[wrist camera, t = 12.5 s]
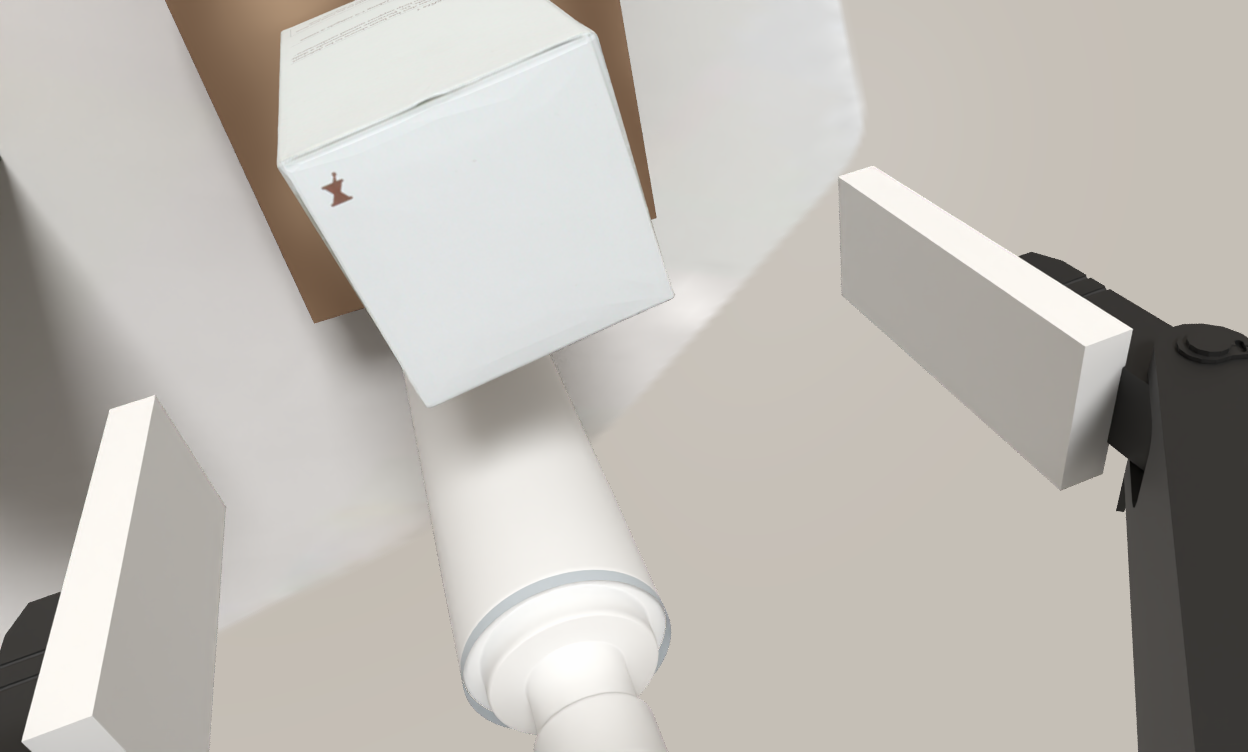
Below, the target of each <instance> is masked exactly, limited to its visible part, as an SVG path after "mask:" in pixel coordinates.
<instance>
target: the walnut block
mask: <svg viewBox="0 0 1248 752" xmlns="http://www.w3.org/2000/svg"><path fill="white" fill-rule="evenodd" d="M165 1H166V3H167V6H168V8H169V10H170V12H171V14H172V16H173V19H174V21H175V23H176V25H177V27H178V29H179V32H180V34H181V36H182V38H183V40H184V42H185V45H186V47H187V49H188V51H189V53H190V55H191V58H192V60H193V62H194V64H195V66H196V68H197V71H198V73H199V75H200V77H201V79H202V81H203V84H204V86H205V88H206V90H207V92H208V94H209V97H210V99H211V101H212V103H213V105H214V107H215V110H216V112H217V114H218V116H219V118H220V120H221V123H222V125H223V127H224V129H225V131H226V133H227V136H228V138H229V140H230V142H231V144H232V146H233V149H234V151H235V153H236V155H237V157H238V159H239V162H240V164H241V166H242V168H243V170H244V172H245V175H246V177H247V179H248V181H249V183H250V185H251V188H252V190H253V192H254V194H255V196H256V198H257V201H258V203H259V205H260V207H261V209H262V211H263V214H264V216H265V218H266V220H267V222H268V224H269V227H270V229H271V231H272V233H273V235H274V237H275V240H276V242H277V244H278V246H279V248H280V250H281V253H282V255H283V257H284V259H285V261H286V263H287V266H288V268H289V270H290V272H291V274H292V276H293V279H294V281H295V283H296V285H297V287H298V289H299V292H300V294H301V296H302V298H303V300H304V302H305V305H306V307H307V309H308V311H309V313H310V315H311V318H312V320H313V322H314V323H317V322H321V321H324V320H327V319H330V318H334V317H337V316H340V315H343V314H346V313H350V312H353V311H356V310H359V309H363V308H365V307H364V305H363V304H362V302H361V300H360V299H359V297H358V296H357V294H356V292H355V291H354V289H353V288H352V286H351V284H350V283H349V281H348V280H347V278H346V276H345V275H344V273H343V272H342V270H341V268H340V267H339V265H338V264H337V262H336V260H335V259H334V257H333V256H332V254H331V252H330V251H329V249H328V248H327V246H326V244H325V243H324V241H323V240H322V238H321V236H320V235H319V233H318V232H317V230H316V228H315V227H314V225H313V224H312V222H311V220H310V219H309V217H308V216H307V214H306V212H305V211H304V209H303V208H302V206H301V204H300V203H299V201H298V200H297V198H296V196H295V195H294V193H293V192H292V190H291V188H290V187H289V185H288V184H287V182H286V180H285V179H284V177H283V176H282V174H281V172H280V171H279V169H278V168H277V149H278V116H279V75H280V42H281V32H282V31H283V30H286V29H288V28H291V27H293V26H296V25H298V24H300V23H303V22H305V21H307V20H310V19H312V18H314V17H317V16H319V15H322V14H324V13H326V12H329V11H331V10H333V9H336V8H338V7H341V6H343V5H345V4H348V3H350V2H353V1H355V0H165ZM550 1H551V2H552V3H554V4H555V5H556V6H558V7H559V8H560V9H561V10H563V11H564V12H565V13H567V14H568V15H570V16H571V17H572V18H574V19H575V20H576V21H578V22H579V23H581V24H583V25H584V26H586V27H588V28H589V29H591V30H592V31H594V32H595V33H596V34H597V36H598V39H599V42H600V46H601V49H602V53H603V56H604V60H605V63H606V67H607V70H608V73H609V77H610V80H611V84H612V87H613V90H614V94H615V97H616V101H617V104H618V107H619V111H620V114H621V118H622V121H623V124H624V128H625V131H626V135H627V138H628V142H629V145H630V149H631V152H632V156H633V159H634V162H635V166H636V169H637V173H638V176H639V180H640V183H641V187H642V190H643V194H644V197H645V201H646V204H647V207H648V211H649V214H650V218H651V219H655V218H656V212H655V206H654V200H653V194H652V188H651V182H650V176H649V170H648V165H647V159H646V153H645V147H644V141H643V135H642V129H641V123H640V117H639V112H638V106H637V100H636V94H635V88H634V82H633V76H632V70H631V64H630V59H629V53H628V47H627V41H626V35H625V29H624V23H623V17H622V11H621V6H620V0H550Z"/></svg>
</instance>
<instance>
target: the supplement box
mask: <svg viewBox="0 0 1248 752" xmlns="http://www.w3.org/2000/svg"><path fill="white" fill-rule="evenodd" d="M277 168H278V169H279V171H280V172H281V174H282V176H283V177H284V179H285V180H286V182H287V184H288V185H289V187H290V188H291V190H292V192H293V193H294V195H295V196H296V198H297V200H298V201H299V203H300V204H301V206H302V208H303V209H304V211H305V212H306V214H307V216H308V217H309V219H310V220H311V222H312V224H313V225H314V227H315V228H316V230H317V232H318V233H319V235H320V236H321V238H322V240H323V241H324V243H325V244H326V246H327V248H328V249H329V251H330V252H331V254H332V256H333V257H334V259H335V260H336V262H337V264H338V265H339V267H340V268H341V270H342V272H343V273H344V275H345V276H346V278H347V280H348V281H349V283H350V284H351V286H352V288H353V289H354V291H355V292H356V294H357V296H358V297H359V299H360V300H361V302H362V304H363V305H364V307H365V308H366V310H367V312H368V313H369V315H370V316H371V318H372V320H373V321H374V323H375V325H376V326H377V328H378V329H379V331H380V333H381V334H382V336H383V337H384V339H385V341H386V342H387V344H388V345H389V347H390V349H391V350H392V352H393V353H394V355H395V357H396V359H397V360H398V362H399V364H400V365H401V367H402V369H403V370H404V372H405V373H406V375H407V377H408V379H409V380H410V382H411V384H412V385H413V387H414V389H415V390H416V392H417V394H418V395H419V397H420V399H421V400H422V402H423V403H424V405H425V406H426V407H427V408H432V407H435V406H437V405H439V404H442V403H444V402H446V401H448V400H450V399H452V398H454V397H456V396H459V395H461V394H463V393H465V392H467V391H469V390H472V389H474V388H476V387H478V386H480V385H483V384H485V383H487V382H489V381H491V380H493V379H496V378H498V377H500V376H502V375H504V374H507V373H509V372H511V371H513V370H515V369H518V368H520V367H522V366H524V365H526V364H529V363H531V362H533V361H535V360H538V359H540V358H542V357H544V356H546V355H549V354H551V353H553V352H555V351H557V350H560V349H562V348H564V347H566V346H568V345H571V344H573V343H575V342H577V341H579V340H582V339H584V338H586V337H588V336H590V335H593V334H595V333H597V332H599V331H601V330H604V329H606V328H608V327H610V326H613V325H615V324H617V323H619V322H622V321H624V320H626V319H628V318H631V317H633V316H635V315H637V314H640V313H642V312H644V311H646V310H648V309H650V308H653V307H655V306H657V305H659V304H662V303H664V302H666V301H669V300H671V299H672V298H674V296H675V294H674V292H673V289H672V286H671V283H670V280H669V277H668V274H667V271H666V268H665V265H664V261H663V258H662V254H661V251H660V248H659V245H658V241H657V238H656V235H655V231H654V228H653V225H652V221H651V218H650V214H649V211H648V207H647V204H646V201H645V197H644V194H643V190H642V187H641V183H640V180H639V176H638V173H637V169H636V166H635V162H634V159H633V156H632V152H631V149H630V145H629V142H628V138H627V135H626V131H625V128H624V124H623V121H622V118H621V114H620V111H619V107H618V104H617V101H616V97H615V94H614V90H613V87H612V84H611V80H610V77H609V73H608V70H607V67H606V63H605V60H604V56H603V53H602V49H601V46H600V42H599V39H598V36H597V34H596V33H595V32H594V31H592V30H591V29H589V28H588V27H586V26H584V25H583V24H581V23H579V22H578V21H576V20H575V19H574V18H572V17H571V16H570V15H568V14H567V13H565V12H564V11H563V10H561V9H560V8H559V7H558V6H556V5H555V4H554V3H552V2H551V1H550V0H355V1H353V2H350V3H348V4H345V5H343V6H341V7H338V8H336V9H333V10H331V11H329V12H326V13H324V14H322V15H319V16H317V17H314V18H312V19H310V20H307V21H305V22H303V23H300V24H298V25H296V26H293V27H291V28H288V29H286V30H283V31H282V32H281V42H280V75H279V116H278V149H277Z"/></svg>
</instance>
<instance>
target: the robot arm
mask: <svg viewBox="0 0 1248 752" xmlns="http://www.w3.org/2000/svg"><path fill="white" fill-rule="evenodd" d="M838 186H839V219H840V251H841V252H840V253H841V285H842V296H843V297H844V298H846V299H847V300H848V301H849V302H850V303H851V304H852V305H853V306H855V308H857V309H858V310H859V311H860V312H861V313H862V314H863V315H864V316H866V317H867V318H868V319H869V320H870V321H871V322H872V323H873V324H874V325H876V326H877V327H878V328H879V329H880V330H881V331H882V332H884V333H885V334H886V335H887V336H888V337H889V338H890V339H891V340H893V341H894V342H895V343H896V344H897V345H898V346H899V347H900V348H901V349H903V350H904V351H905V352H906V353H907V354H908V355H909V356H910V357H912V358H913V359H914V360H915V361H916V362H917V363H918V364H919V365H920V366H922V367H923V368H924V369H925V370H926V371H927V372H928V373H929V374H931V375H932V376H933V377H934V378H935V379H936V380H937V381H938V382H939V383H941V384H942V385H943V386H944V387H945V388H946V389H947V390H949V391H950V392H951V393H952V394H953V395H954V396H955V397H956V398H957V399H958V400H960V401H961V402H962V403H963V404H964V405H965V406H966V407H968V408H969V409H970V410H971V411H972V412H973V413H974V414H975V415H976V416H978V417H979V418H980V419H981V420H982V421H983V422H984V423H986V425H988V426H989V427H990V428H991V429H992V430H993V431H994V432H996V433H997V434H998V435H999V436H1000V437H1001V438H1002V439H1003V440H1004V441H1006V442H1007V443H1008V444H1009V445H1010V446H1011V447H1013V449H1014V450H1016V451H1017V452H1018V453H1019V454H1020V455H1021V456H1022V457H1023V458H1025V459H1026V460H1027V461H1028V462H1029V463H1030V464H1032V465H1033V466H1034V467H1035V468H1036V469H1037V470H1038V471H1039V472H1040V473H1041V474H1042V475H1044V476H1045V477H1046V478H1047V479H1048V480H1049V481H1050V482H1052V483H1053V484H1054V485H1055V486H1056V487H1057V488H1058V489H1059V490H1060V491H1061V490H1063V489H1066V488H1068V487H1071V486H1073V485H1076V484H1078V483H1081V482H1083V481H1086V480H1088V479H1091V478H1093V477H1096V476H1098V475H1101V474H1102V473H1103V469H1104V464H1105V460H1106V455H1107V450H1108V446H1109V444H1110V445H1111V446H1113V447H1114V448H1115V449H1116V450H1118V451H1119V452H1120V453H1121V454H1123V455H1124V456H1125V457H1127V458H1128V461H1127V465H1126V470H1125V474H1124V478H1123V483H1122V487H1121V491H1120V496H1119V500H1118V505H1117V509H1116V511H1121V512H1124V510H1125V508H1126V521H1127V541H1128V561H1129V581H1130V600H1131V618H1132V638H1133V658H1134V676H1135V697H1136V715H1137V735H1138V752H1248V338H1247V337H1246V336H1244V335H1243V334H1241V333H1239V332H1236V331H1233V330H1230V329H1228V328H1225V327H1221V326H1214V325H1208V324H1182V325H1179V326H1175V327H1172V326H1171V325H1169V324H1167V323H1165V322H1164V321H1162V320H1160V319H1159V318H1157V317H1156V316H1154V315H1152V314H1150V313H1149V312H1147V311H1146V310H1144V309H1142V308H1141V307H1139V306H1137V305H1135V304H1134V303H1132V302H1131V301H1129V300H1127V299H1125V298H1124V297H1122V296H1120V295H1119V294H1117V293H1115V292H1114V291H1112V290H1110V289H1109V290H1106V288H1105V286H1104V285H1102V284H1100V283H1099V282H1097V281H1095V280H1094V279H1092V278H1089V279H1088V278H1087V277H1086V275H1085V274H1084V273H1082V272H1080V271H1079V270H1077V269H1075V268H1073V267H1072V266H1070V265H1068V264H1067V263H1065V262H1064V261H1061V260H1058V259H1055V258H1051V257H1048V256H1044V255H1041V254H1037V253H1033V252H1030V253H1027V254H1024V255H1021V256H1016V255H1014V254H1013V253H1011V252H1010V251H1008V250H1006V249H1005V248H1003V247H1002V246H1000V245H999V244H997V243H995V242H994V241H992V240H990V239H989V238H987V237H986V236H984V235H983V234H981V233H980V232H978V231H976V230H975V229H973V228H971V227H970V226H968V225H967V224H965V223H963V222H962V221H960V220H959V219H957V218H956V217H954V216H953V215H951V214H949V213H948V212H946V211H945V210H943V209H941V208H940V207H938V206H937V205H935V204H933V203H931V202H930V201H928V200H927V199H925V198H924V197H922V196H921V195H919V194H918V193H916V192H914V191H913V190H911V189H909V188H908V187H906V186H905V185H903V184H902V183H900V182H898V181H897V180H895V179H894V178H892V177H891V176H889V175H887V174H886V173H884V172H882V171H881V170H879V169H878V168H876V167H875V166H870V167H867V168H864V169H861V170H858V171H854V172H852V173H848V174H845V175H842V176H839V177H838ZM225 511H226V506H225V505H224V503H223V501H222V500H221V498H220V497H219V495H218V494H217V492H216V490H215V489H214V487H213V486H212V484H211V482H210V481H209V479H208V478H207V476H206V475H205V473H204V471H203V470H202V468H201V467H200V465H199V463H198V462H197V460H196V459H195V457H194V455H193V454H192V452H191V451H190V449H189V448H188V446H187V444H186V443H185V441H184V440H183V438H182V436H181V435H180V433H179V432H178V430H177V429H176V427H175V425H174V424H173V422H172V421H171V419H170V417H169V416H168V414H167V413H166V411H165V409H164V408H163V406H162V405H161V403H160V402H159V400H158V398H157V397H156V395H153V396H150V397H147V398H144V399H141V400H138V401H135V402H132V403H128V404H125V405H122V406H119V407H116V408H113V409H110V410H109V414H108V418H107V422H106V425H105V429H104V433H103V437H102V440H101V444H100V448H99V452H98V455H97V459H96V463H95V467H94V470H93V474H92V478H91V482H90V486H89V489H88V493H87V497H86V501H85V504H84V508H83V512H82V516H81V519H80V523H79V527H78V531H77V534H76V538H75V542H74V546H73V549H72V553H71V557H70V561H69V564H68V568H67V572H66V576H65V580H64V583H63V587H62V591H61V592H59V593H56V594H53V595H50V596H47V597H44V598H41V599H39V600H36V601H33V602H30V603H28V605H27V606H26V607H25V609H24V610H23V611H22V613H21V614H20V616H19V617H18V618H17V620H16V621H15V622H14V624H13V625H12V627H11V628H10V629H9V631H8V632H7V633H6V635H5V637H4V640H3V643H2V647H1V650H0V752H209V746H210V731H211V717H212V701H213V687H214V673H215V658H216V643H217V629H218V614H219V599H220V585H221V570H222V555H223V541H224V526H225Z"/></svg>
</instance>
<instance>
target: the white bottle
mask: <svg viewBox="0 0 1248 752" xmlns="http://www.w3.org/2000/svg"><path fill="white" fill-rule="evenodd" d="M403 374H404V380H405V385H406V390H407V396H408V401H409V406H410V412H411V417H412V422H413V428H414V433H415V438H416V443H417V449H418V454H419V459H420V465H421V470H422V475H423V481H424V486H425V491H426V497H427V502H428V507H429V513H430V518H431V523H432V529H433V534H434V539H435V545H436V550H437V555H438V560H439V566H440V571H441V576H442V581H443V586H444V591H445V596H446V601H447V607H448V611H449V617H450V622H451V627H452V632H453V637H454V642H455V647H456V653H457V657H458V662H459V668H460V673H461V678H462V681H463V682H464V684H465V686H464V684H463V688H464V692H465V695H466V697H467V700H468V701H469V703H470V705H471V706H472V707H473V708H474V709H475V711H476V712H477V713H479V714H480V715H481V716H483V717H484V718H485V719H487V720H489V721H491V722H493V723H495V724H498V725H500V726H503V727H507V728H511V729H514V730H517V731H520V732H523V733H528V734H534V735H537V738H536V740H535V744H534V752H668V750H667V748H666V745H665V742H664V740H663V737H662V735H661V732H660V730H659V727H658V725H657V722H656V719H655V717H654V714H653V712H652V710H651V709H650V707H649V705H648V704H647V703H646V702H645V701H643V700H642V699H640V698H639V697H638V696H639V695H640V694H641V693H642V692H643V691H644V689H645V688H646V687H647V685H648V684H649V682H650V680H651V679H652V677H653V675H654V674H655V673H656V671H657V670H658V668H659V667H660V665H661V664H662V662H663V660H664V658H665V656H666V654H667V650H668V648H669V644H670V639H671V625H670V620H669V617H668V614H667V612H666V610H665V612H664V606H663V603H662V601H661V599H660V596H659V594H658V592H657V590H656V587H655V585H654V583H653V581H652V578H651V576H650V574H649V572H648V570H647V567H646V565H645V563H644V561H643V559H642V556H641V554H640V552H639V550H638V547H637V545H636V543H635V540H634V539H633V536H632V534H631V532H630V529H629V527H628V525H627V523H626V520H625V518H624V516H623V514H622V511H621V509H620V507H619V505H618V502H617V500H616V498H615V496H614V494H613V491H612V490H611V487H610V485H609V483H608V481H607V479H606V476H605V474H604V472H603V470H602V467H601V465H600V463H599V461H598V459H597V457H596V454H595V452H594V450H593V448H592V445H591V443H590V441H589V439H588V437H587V434H586V432H585V430H584V428H583V426H582V423H581V421H580V419H579V417H578V415H577V413H576V410H575V408H574V406H573V404H572V402H571V399H570V397H569V395H568V393H567V391H566V388H565V386H564V384H563V382H562V380H561V377H560V375H559V373H558V371H557V369H556V366H555V364H554V362H553V360H552V358H551V356H550V354H549V355H546V356H544V357H542V358H540V359H538V360H535V361H533V362H531V363H529V364H526V365H524V366H522V367H520V368H518V369H515V370H513V371H511V372H509V373H507V374H504V375H502V376H500V377H498V378H496V379H493V380H491V381H489V382H487V383H485V384H483V385H480V386H478V387H476V388H474V389H472V390H469V391H467V392H465V393H463V394H461V395H459V396H456V397H454V398H452V399H450V400H448V401H446V402H444V403H442V404H439V405H437V406H435V407H432V408H427V407H426V406H425V405H424V403H423V402H422V400H421V399H420V397H419V395H418V394H417V392H416V390H415V389H414V387H413V385H412V384H411V382H410V380H409V379H408V377H407V375H406V373H405V372H404V370H403ZM665 614H666V630H665ZM664 631H665V636H664V639H663V635H664ZM662 639H663V642H662V644H661V641H662ZM660 644H661V646H660ZM659 646H660V649H659ZM658 649H659V651H658ZM463 682H462V683H463ZM465 687H466V688H467V690H468V691H469V693H470V694H471V695H472V696H473V697H474V699H475V700H477V701H478V702H479V703H480V704H481V705H483V706H484V707H486V708H488V709H490V710H492V711H493V712H491V711H489V710H487V709H486V708H484V707H483V706H481V705H480V704H478V703H477V702H476V701H475V700H474V699H473V698H472V697H471V696H470V695H469V693H468V691H467V690H466V688H465Z"/></svg>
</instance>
